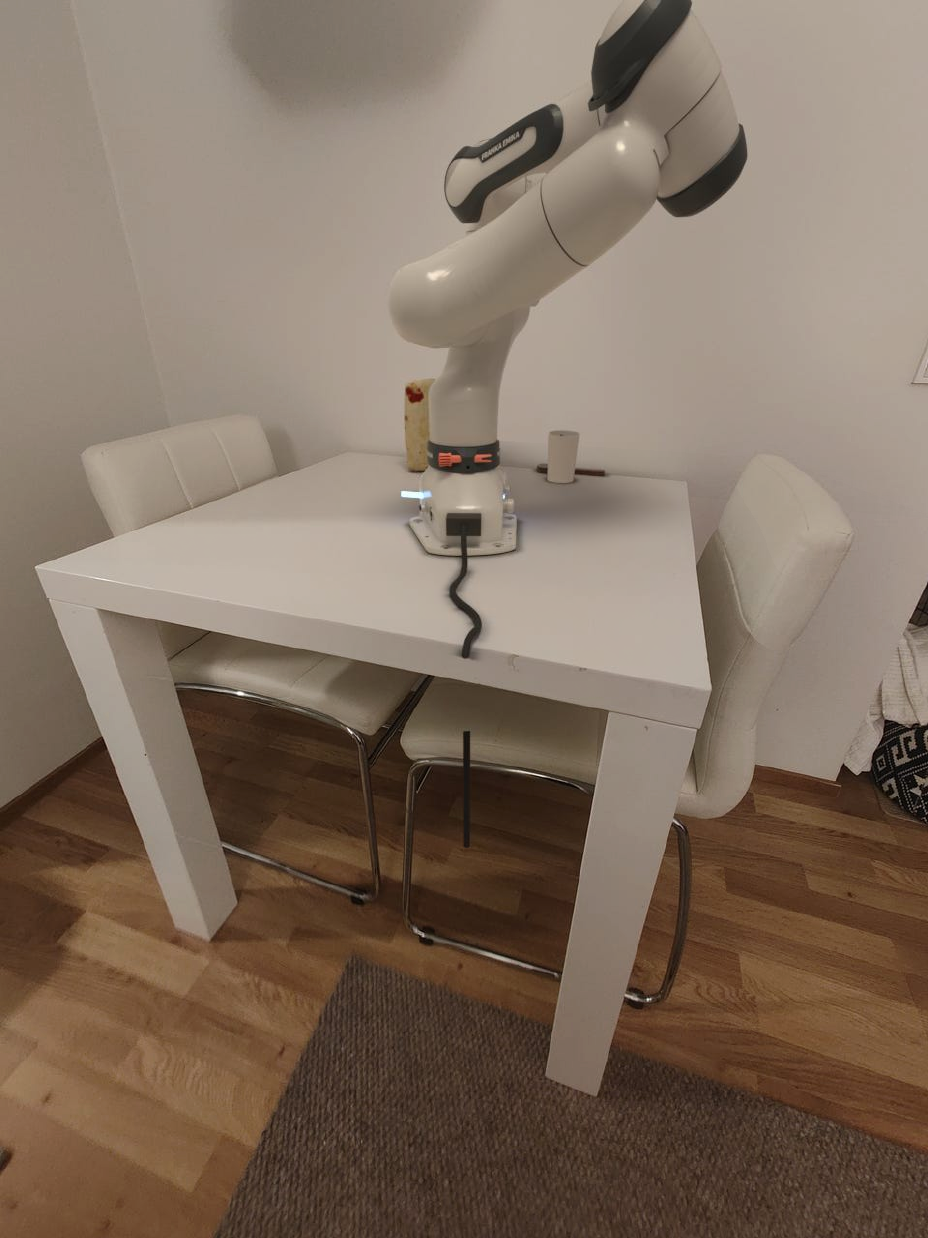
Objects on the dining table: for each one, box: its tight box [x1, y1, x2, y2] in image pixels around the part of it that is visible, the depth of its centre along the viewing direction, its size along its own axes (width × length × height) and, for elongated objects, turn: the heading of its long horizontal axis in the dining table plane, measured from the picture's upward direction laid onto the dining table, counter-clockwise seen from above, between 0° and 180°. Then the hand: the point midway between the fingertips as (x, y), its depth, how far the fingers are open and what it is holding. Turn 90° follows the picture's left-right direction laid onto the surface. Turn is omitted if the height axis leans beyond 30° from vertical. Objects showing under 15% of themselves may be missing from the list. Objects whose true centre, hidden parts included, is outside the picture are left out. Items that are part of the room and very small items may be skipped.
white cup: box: [547, 429, 581, 484], centre depth 124 cm, size 7×7×10 cm
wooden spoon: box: [536, 463, 606, 477], centre depth 131 cm, size 16×4×1 cm, turn 72°
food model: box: [404, 378, 437, 472], centre depth 130 cm, size 10×7×20 cm
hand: (487, 332), depth 115 cm, fingers open, 8 cm apart
